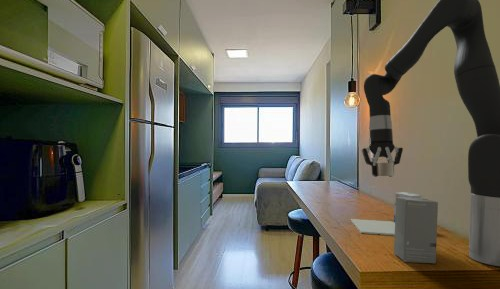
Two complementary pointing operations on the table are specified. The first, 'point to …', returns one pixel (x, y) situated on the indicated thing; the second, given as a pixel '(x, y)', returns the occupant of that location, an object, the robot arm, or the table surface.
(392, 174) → the walnut block
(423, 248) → the skincare box
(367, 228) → the mat
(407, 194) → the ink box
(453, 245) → the table surface
